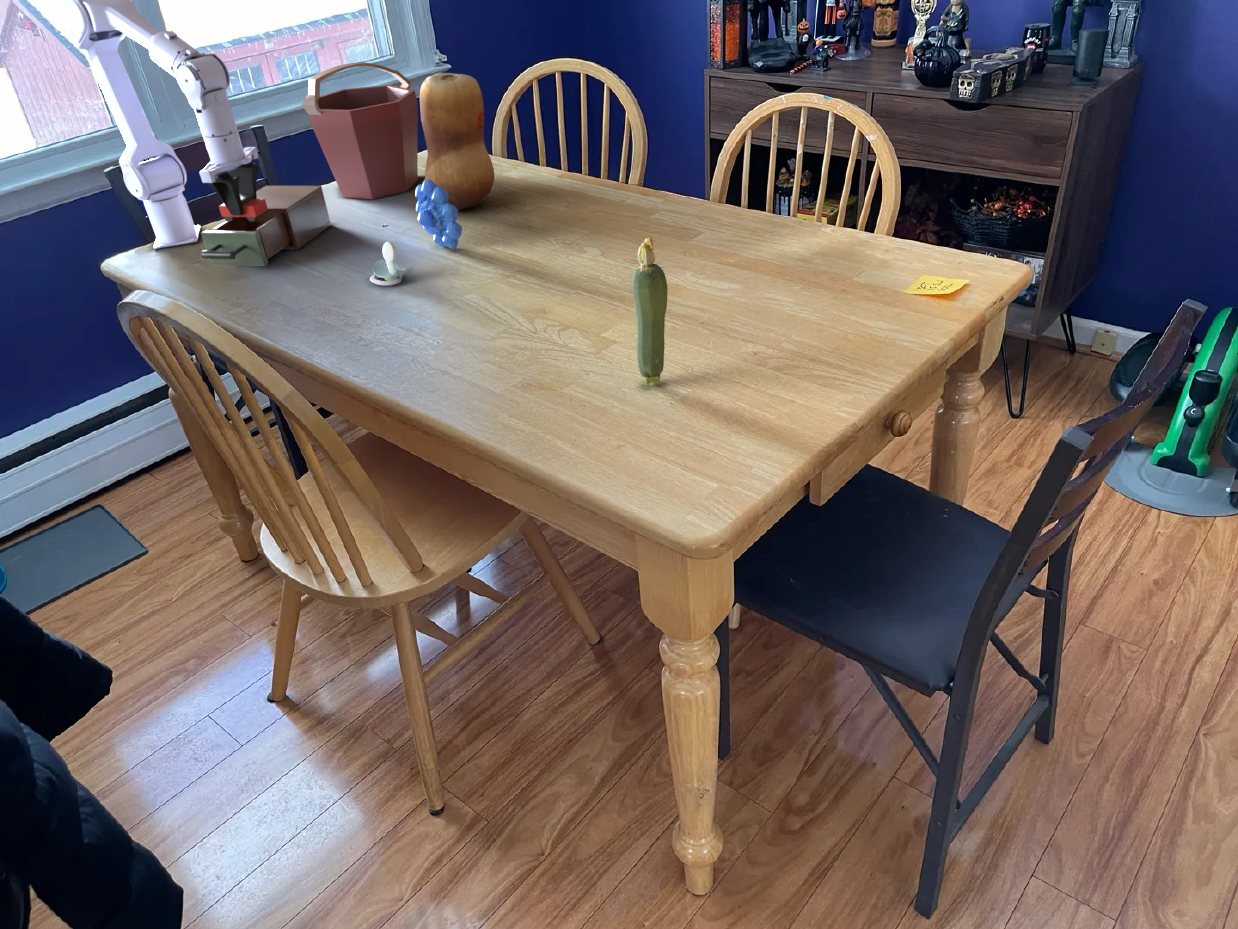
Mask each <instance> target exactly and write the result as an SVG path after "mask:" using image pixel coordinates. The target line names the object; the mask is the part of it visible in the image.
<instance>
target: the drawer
mask: <svg viewBox="0 0 1238 929" xmlns="http://www.w3.org/2000/svg"><path fill="white" fill-rule="evenodd" d="M200 234H201V237H202V241H203V244H204V247H205V250H201V252H200V257H201V258H202V260H209V261H210V264H211V265H212V266H251V267H252V266H254V267H259V266H260V267H265V266H267V265H268V264H269V261H268V260H269V259H270V258H271V257H273V256H274V255H276V254H277V253H279V252H280V251H281V250H284V249H283V248H284V247H285V246H287V245H288V244H289V243H291V242H292V240H291V236H290V232H289V229H288V225H287V222H286V218H285V215H284V213H266V214H265V215H263V216H260V215H259V216H257V220H255V221H254V222H250V221H249V220H248V219H247V218H246V217H235V218H234V220H233V221H231V222H228V221H226V220H225V221H223V222H222V223H220V224H218V225H216V226H215V227H213V228H212V230H211V229H210V230H208V229H205V230H203V231H201V232H200Z"/></svg>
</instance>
